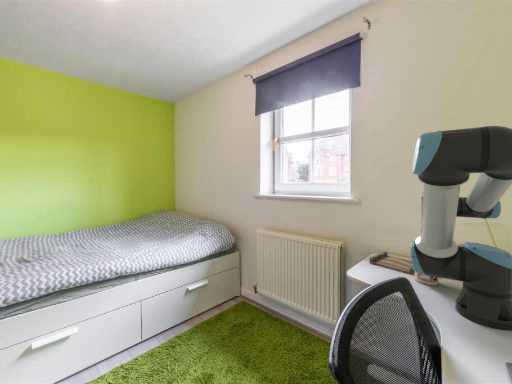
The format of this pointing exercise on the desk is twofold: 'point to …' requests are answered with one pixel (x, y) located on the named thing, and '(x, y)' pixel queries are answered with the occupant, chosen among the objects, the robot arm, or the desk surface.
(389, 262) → the rail board
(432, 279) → the teacup with lid
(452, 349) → the desk surface
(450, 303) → the desk surface
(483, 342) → the desk surface
